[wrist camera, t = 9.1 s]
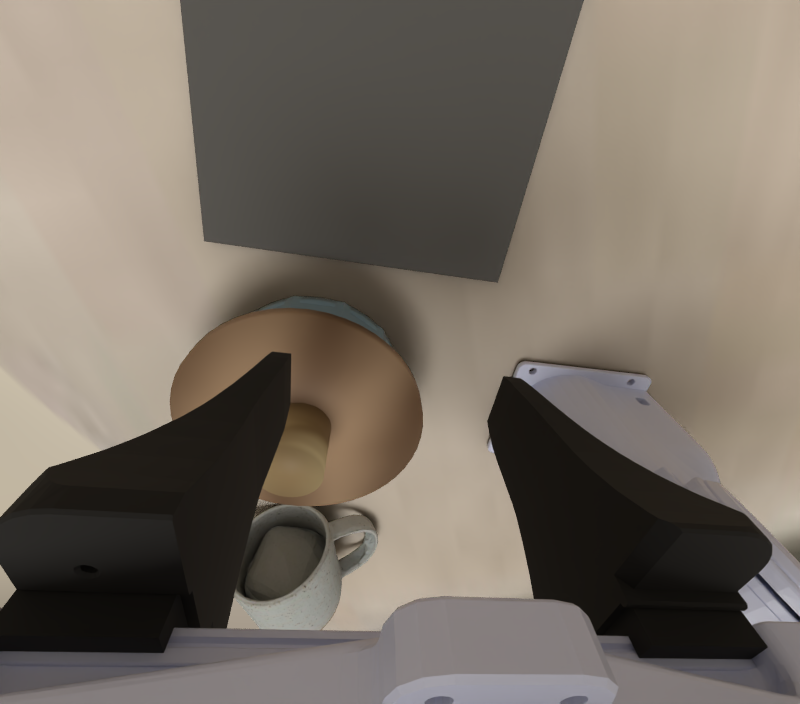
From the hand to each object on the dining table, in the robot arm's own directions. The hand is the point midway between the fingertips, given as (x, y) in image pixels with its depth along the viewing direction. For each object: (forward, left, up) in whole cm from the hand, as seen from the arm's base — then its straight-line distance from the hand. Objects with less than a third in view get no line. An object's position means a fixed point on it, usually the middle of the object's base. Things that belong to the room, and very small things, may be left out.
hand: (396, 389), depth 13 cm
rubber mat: (+2, -8, -10) cm, 13 cm away
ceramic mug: (+3, +23, -11) cm, 26 cm away
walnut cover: (+4, +7, -6) cm, 10 cm away
